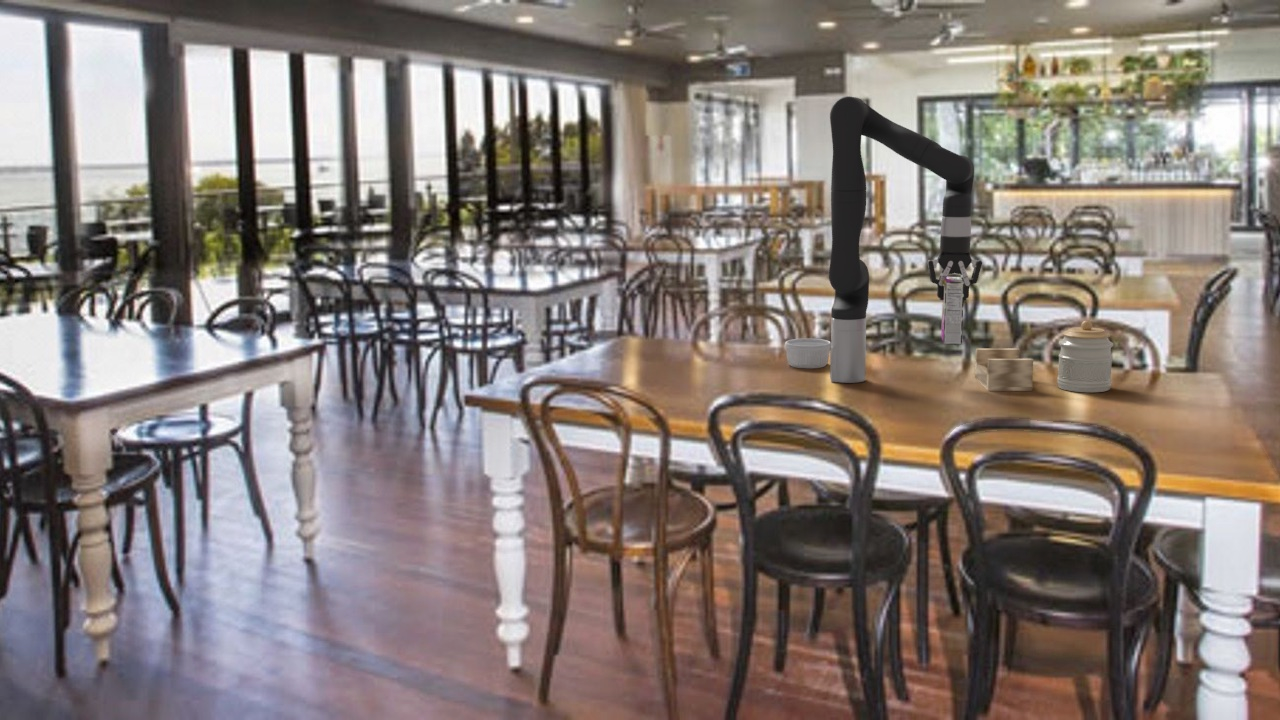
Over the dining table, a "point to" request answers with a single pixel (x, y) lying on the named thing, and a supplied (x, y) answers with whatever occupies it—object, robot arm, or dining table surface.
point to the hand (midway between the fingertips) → (952, 299)
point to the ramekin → (807, 352)
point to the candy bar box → (952, 311)
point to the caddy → (1003, 369)
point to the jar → (1085, 359)
